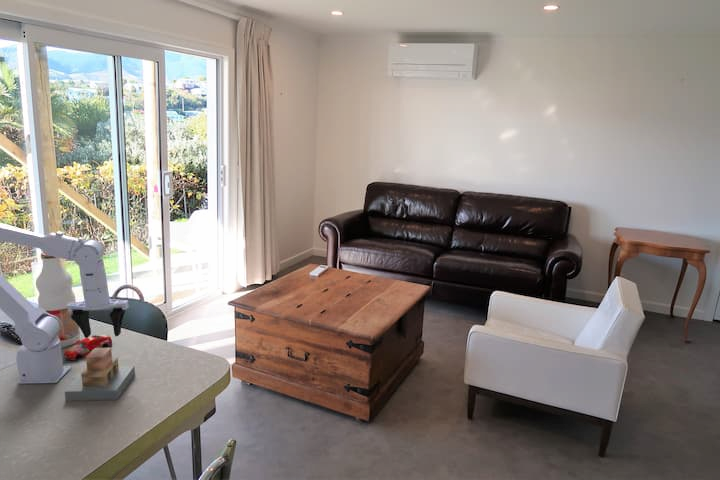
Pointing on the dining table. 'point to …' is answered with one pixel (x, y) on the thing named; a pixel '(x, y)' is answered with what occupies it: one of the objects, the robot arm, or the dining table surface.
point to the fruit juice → (57, 297)
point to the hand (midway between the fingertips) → (103, 335)
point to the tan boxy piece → (100, 374)
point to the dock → (101, 387)
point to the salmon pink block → (99, 358)
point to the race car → (87, 346)
